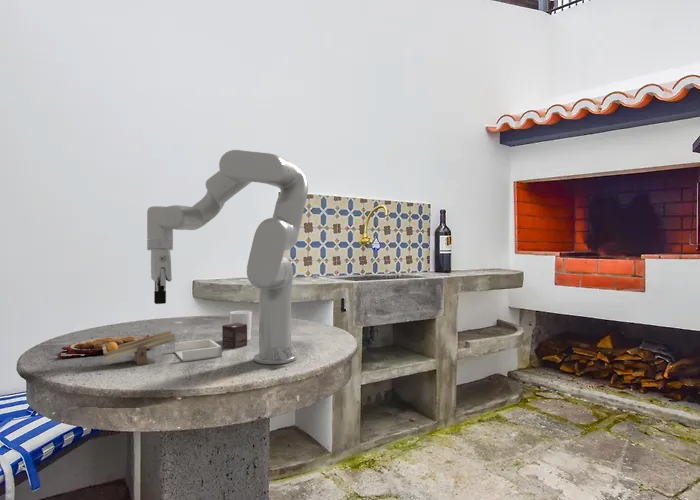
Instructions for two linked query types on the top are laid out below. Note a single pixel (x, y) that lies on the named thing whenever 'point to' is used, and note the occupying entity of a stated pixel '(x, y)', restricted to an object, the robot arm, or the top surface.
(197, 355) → the dish
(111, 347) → the ball
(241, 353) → the top surface
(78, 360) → the top surface
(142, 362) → the fulcrum
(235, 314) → the white cup
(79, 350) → the plate with food
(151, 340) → the lever
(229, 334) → the box
